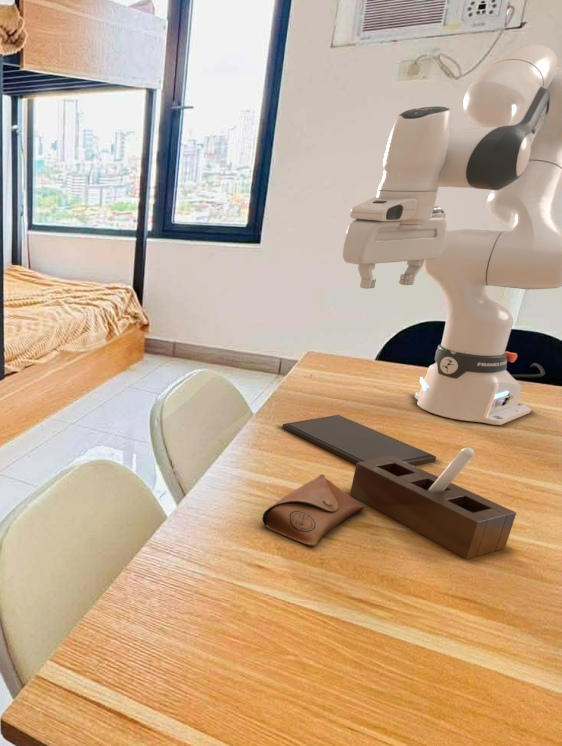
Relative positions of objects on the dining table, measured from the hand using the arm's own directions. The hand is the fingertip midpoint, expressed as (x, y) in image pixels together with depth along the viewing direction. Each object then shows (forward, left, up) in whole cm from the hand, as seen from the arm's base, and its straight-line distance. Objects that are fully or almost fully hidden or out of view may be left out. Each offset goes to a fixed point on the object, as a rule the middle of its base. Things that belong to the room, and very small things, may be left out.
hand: (386, 286), depth 115 cm
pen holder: (+15, +26, -31) cm, 43 cm away
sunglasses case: (+30, +20, -31) cm, 48 cm away
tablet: (+1, +1, -31) cm, 31 cm away
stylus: (+15, +25, -31) cm, 42 cm away
